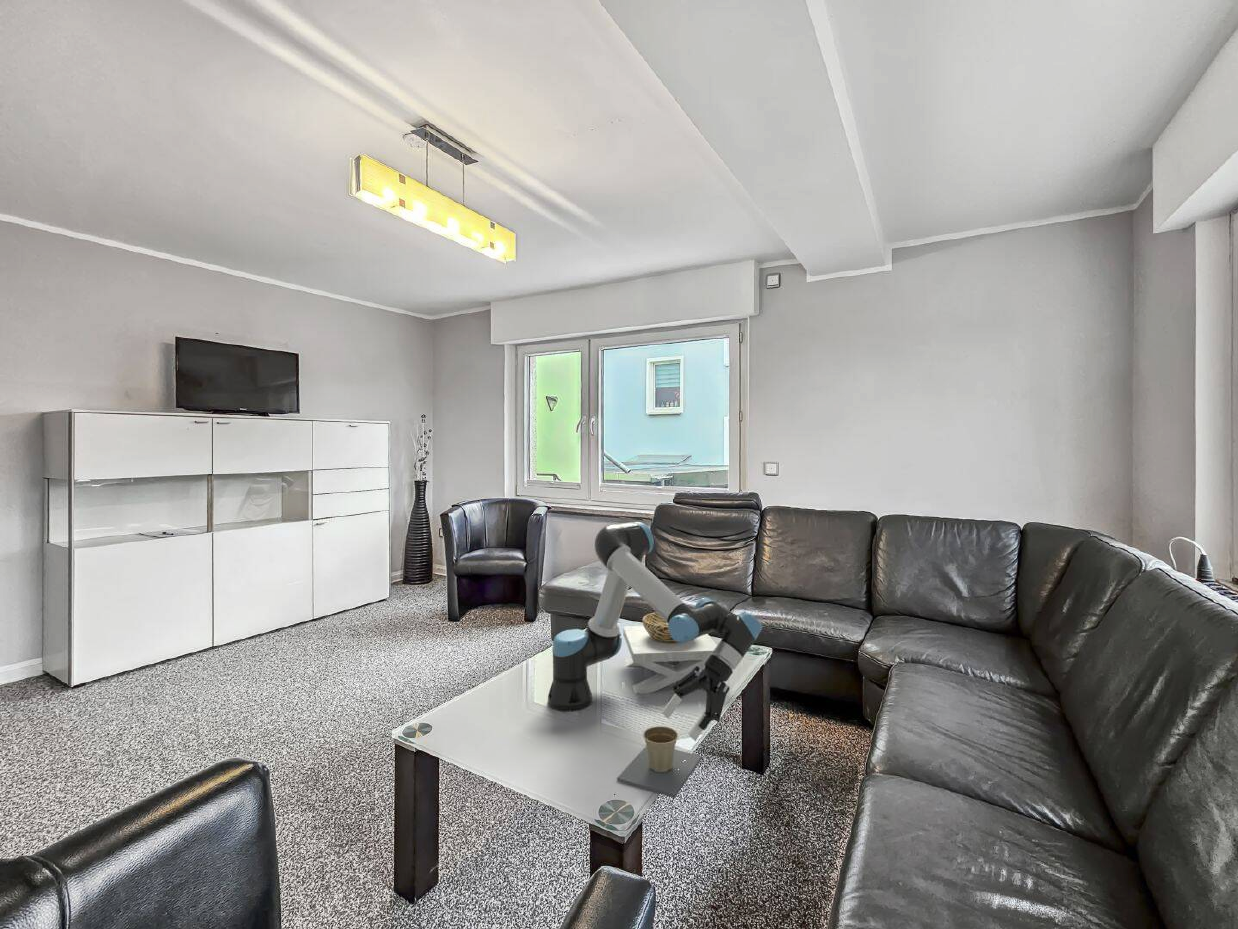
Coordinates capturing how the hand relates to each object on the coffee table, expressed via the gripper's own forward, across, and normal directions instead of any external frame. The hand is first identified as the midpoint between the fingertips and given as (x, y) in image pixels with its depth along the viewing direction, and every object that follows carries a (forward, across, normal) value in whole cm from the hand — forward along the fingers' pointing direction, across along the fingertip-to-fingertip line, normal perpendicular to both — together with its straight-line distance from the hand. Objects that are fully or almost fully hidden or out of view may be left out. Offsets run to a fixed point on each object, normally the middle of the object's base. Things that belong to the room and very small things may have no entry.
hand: (677, 726), depth 150 cm
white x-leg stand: (-14, +56, -30) cm, 65 cm away
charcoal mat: (+11, +1, -4) cm, 12 cm away
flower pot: (+11, +1, -4) cm, 11 cm away
